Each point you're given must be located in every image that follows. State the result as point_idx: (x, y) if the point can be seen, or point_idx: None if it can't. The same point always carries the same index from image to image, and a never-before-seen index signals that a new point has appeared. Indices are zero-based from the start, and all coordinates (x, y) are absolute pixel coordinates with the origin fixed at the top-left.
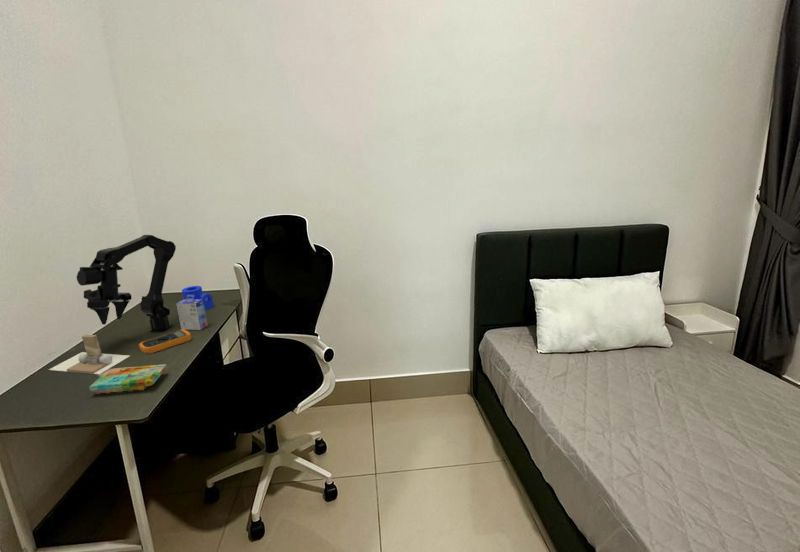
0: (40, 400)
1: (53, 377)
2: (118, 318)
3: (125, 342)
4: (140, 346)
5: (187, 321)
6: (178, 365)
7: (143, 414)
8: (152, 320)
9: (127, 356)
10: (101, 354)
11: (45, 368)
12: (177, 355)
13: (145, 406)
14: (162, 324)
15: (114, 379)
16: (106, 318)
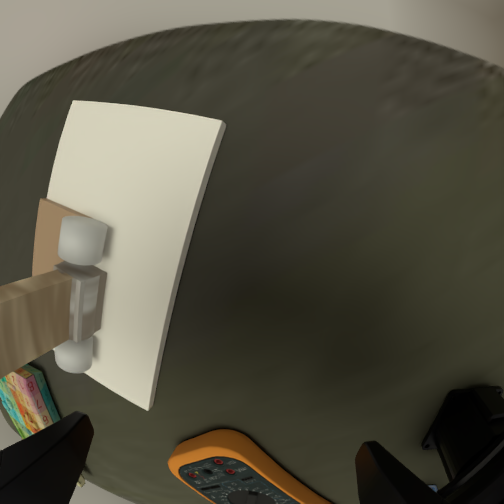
0: None
1: (45, 158)
2: (362, 454)
3: (356, 320)
4: (188, 452)
5: None
6: (124, 492)
7: (9, 425)
8: (471, 441)
9: (141, 402)
10: (66, 338)
11: (117, 56)
12: (173, 500)
13: None
14: (444, 456)
15: (4, 403)
16: (60, 485)
